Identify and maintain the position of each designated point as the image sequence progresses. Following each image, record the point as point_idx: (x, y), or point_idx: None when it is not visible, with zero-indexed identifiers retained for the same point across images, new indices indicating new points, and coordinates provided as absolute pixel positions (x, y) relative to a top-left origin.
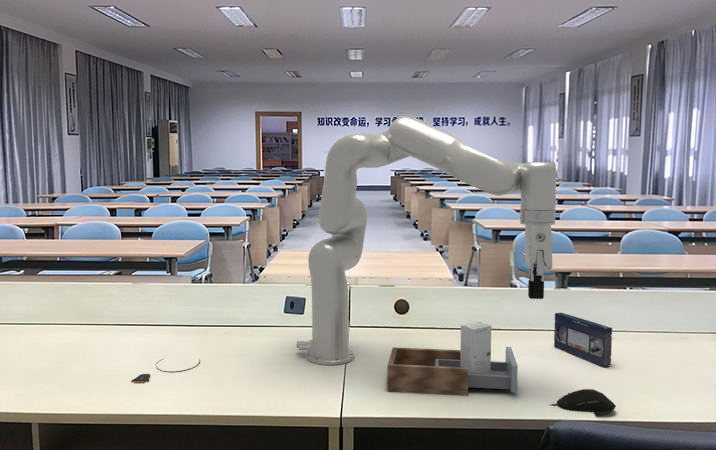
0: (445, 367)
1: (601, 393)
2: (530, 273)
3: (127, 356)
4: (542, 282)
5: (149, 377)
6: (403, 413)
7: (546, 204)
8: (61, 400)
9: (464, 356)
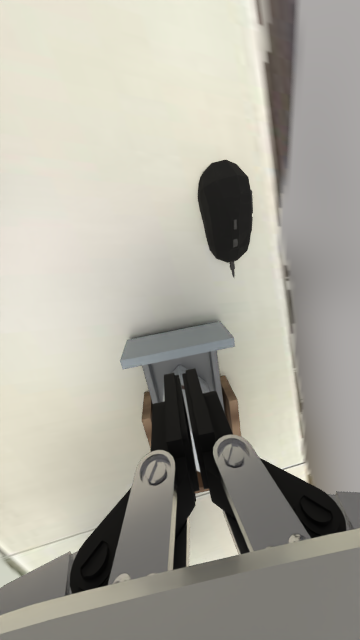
0: (236, 426)
1: (221, 182)
2: (188, 553)
3: None
4: (212, 433)
5: None
6: (290, 421)
7: None
8: None
9: None
